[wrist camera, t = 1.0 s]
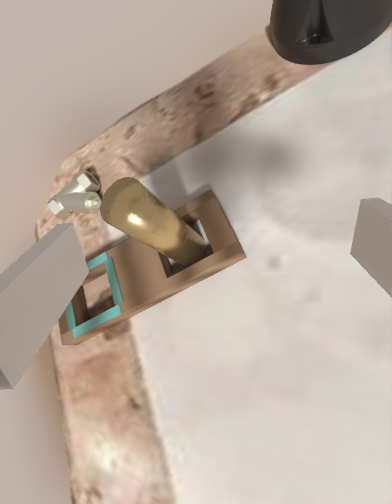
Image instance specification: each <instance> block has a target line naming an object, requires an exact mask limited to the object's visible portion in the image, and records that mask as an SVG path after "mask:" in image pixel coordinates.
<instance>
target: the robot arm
mask: <svg viewBox="0 0 392 504" xmlns="http://www.w3.org/2000/svg"><path fill="white" fill-rule="evenodd" d="M391 22H392V0H273V4H272V11H271V18H270V28H271V34H272V41H273V45H274V47H275V49H276V51H277V52H278V53H279V54H280V55H281V56H282V57H283V58H285V59H287V60H289V61H292V62H295V63H299V64H321V63H327V62H331V61H335V60H338V59H341V58H344V57H347V56H349V55H351V54H353V53H355V52H357V51H359V50H361V49H362V48H364V47H366V46H367V45H368V44H370V43H371V42H373V41H374V40H375V39H376V38H377V37H379V36H380V35H381V34H382V33H383V32H384V31H385V29H386V28H387V27H388V26H389V25H390V23H391ZM350 254H351V255H352V256H353V257H354V258H355V259H356V260H357V261H358V262H359V263H360V264H361V266H362V267H363V268H364V269H365V270H366V271H367V272H368V273H369V274H370V275H371V276H372V277H373V278H374V279H375V280H376V281H377V282H378V284H379V285H380V286H381V287H382V288H383V289H384V290H385V291H386V292H387V293H388V294H389V295H390V296H391V297H392V205H391V204H389V203H387V202H385V201H384V200H382V199H380V198H371V199H361V202H360V207H359V212H358V217H357V222H356V227H355V232H354V237H353V243H352V248H351V253H350ZM88 273H89V270H88V267H87V264H86V261H85V257H84V254H83V251H82V248H81V245H80V242H79V239H78V236H77V233H76V230H75V227H74V224H73V223H69V224H57V225H56V226H55V227H54V228H53V229H52V230H50V231H49V232H48V233H47V234H46V235H45V236H44V237H42V238H41V239H40V240H39V241H38V242H37V243H36V244H34V245H33V246H32V247H31V248H30V249H29V250H28V251H26V252H25V253H24V254H23V255H22V256H21V257H19V258H18V259H17V260H16V261H15V262H14V263H13V264H11V265H10V266H9V267H8V268H7V269H6V270H5V271H4V272H2V273H1V274H0V390H1V389H14V387H15V386H16V384H17V383H18V381H19V379H20V378H21V376H22V375H23V373H24V372H25V370H26V369H27V367H28V366H29V364H30V363H31V361H32V359H33V358H34V357H35V355H36V353H37V351H38V350H39V349H40V347H41V346H42V344H43V343H44V341H45V340H46V338H47V337H48V335H49V333H50V332H51V330H52V329H53V327H54V326H55V324H56V323H57V321H58V320H59V318H60V317H61V315H62V313H63V312H64V310H65V309H66V307H67V306H68V304H69V303H70V301H71V300H72V298H73V297H74V295H75V293H76V292H77V290H78V289H79V287H80V286H81V284H82V283H83V281H84V280H85V278H86V277H87V275H88Z"/></svg>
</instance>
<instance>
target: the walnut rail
mask: <svg viewBox="0 0 392 504" xmlns="http://www.w3.org/2000/svg"><path fill="white" fill-rule="evenodd" d="M174 213H175V214H176V215H178V216H179V217H180V218H181V219H182V220H183V221H184V222H185V223H187V224H188V225H190V224H191V223H193V222H195V221H197V220H198V219H199V220H200V222H201V224H202V227H203V229H204V231H205V233H206V236H207V238H208V240H209V243H210V245H211V247H212V249H213V252H214V254H212V255H210V256H208V257H206V258H205V259H203V260H201V261H199V262H197V263H195V264H193V265H191V266H190V267H188V268H186V269H184V270H182V271H180V272H178V273H177V274H175V275H174V274H173V271H172V268H171V266H170V263H169V260H168V257H167V256H165V255H163V254H162V253H160V252H158V251H156V250H154V249H153V248H151V247H149V246H147V245H146V244H144V243H142V242H140V241H138V240H137V239H135V238H133V237H130V238H129V239H127V240H125V241H124V242H122V243H120V244H118V245H117V246H115V247H113V248H112V249H110V250H108V251H107V252H104V253H102V254H101V255H99V256H97V257H96V258H94V259H92V260H91V261H89V262H87V263H86V264H87V267H88V270H89V273H88V275H87V277H86V278H85V280H84V281H83V283H82V284H81V286H80V287H79V289H78V290H77V292H76V293H75V295H74V297H73V298H72V300H71V301H70V303H69V304H68V306H67V307H66V309H65V310H64V312H63V313H62V315H61V317H60V318H59V327H60V334H61V341H62V345H78V344H80V343H82V342H84V341H86V340H88V339H89V338H91V337H93V336H95V335H97V334H99V333H101V332H103V331H105V330H107V329H109V328H111V327H113V326H115V325H117V324H119V323H120V322H122V321H124V320H126V319H128V318H130V317H132V316H134V315H136V314H138V313H140V312H142V311H144V310H146V309H148V308H150V307H152V306H153V305H155V304H157V303H159V302H161V301H163V300H165V299H167V298H169V297H171V296H173V295H175V294H177V293H179V292H181V291H183V290H184V289H186V288H188V287H190V286H192V285H194V284H196V283H198V282H200V281H202V280H204V279H206V278H208V277H210V276H212V275H214V274H215V273H217V272H219V271H221V270H223V269H225V268H227V267H229V266H231V265H233V264H235V263H237V262H239V261H241V260H243V259H245V258H246V255H245V253H244V251H243V249H242V247H241V245H240V243H239V241H238V239H237V237H236V235H235V233H234V231H233V229H232V227H231V225H230V223H229V221H228V219H227V217H226V215H225V213H224V211H223V209H222V207H221V205H220V203H219V201H218V199H217V197H216V196H215V195H214V193H213V192H212V190H211V189H210V190H209V191H207V192H205V193H204V194H202V195H200V196H199V197H197V198H195V199H194V200H192V201H190V202H189V203H187V204H185V205H184V206H182V207H180V208H179V209H177V210H175V211H174ZM106 272H107V275H108V279H109V283H110V287H111V292H112V296H113V300H114V304H115V306H114V307H112V308H111V309H109V310H107V311H105V312H103V313H101V314H99V315H98V316H96V317H94V318H92V319H90V320H89V316H88V311H87V306H86V301H85V295H84V290H83V286H84V285H85V284H87V283H89V282H91V281H92V280H94V279H96V278H98V277H99V276H101V275H103V274H105V273H106Z"/></svg>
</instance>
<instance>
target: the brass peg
mask: <svg viewBox="0 0 392 504" xmlns="http://www.w3.org/2000/svg"><path fill="white" fill-rule="evenodd" d="M100 212H101V216H102V218H103V219H104V221H105V222H106V223H108V224H110V225H111V226H113V227H115V228H117V229H119V230H120V231H122V232H124V233H126V234H128V235H129V236H131V237H133V238H135V239H137V240H138V241H140V242H142V243H144V244H146V245H147V246H149V247H151V248H153V249H154V250H156V251H158V252H160V253H162V254H163V255H165V256H167V257H169V258H171V259H172V260H174V261H176V262H178V263H180V264H181V265H184V266H191V265H193V264H195V263H197V262H199V261H200V260H201V259H202V258H203V256H204V254H205V250H206V244H205V241H204V239H203V238H202V237H201V236H200V235H199V234H198V233H197V232H196V231H194V230H193V229H192V228H191V227H190V226H189V225H188V224H187V223H185V222H184V221H183V220H182V219H181V218H180V217H179V216H178V215H176V214H175V213H174V212H173V211H172V210H171V209H170V208H168V207H167V206H166V205H165V204H164V203H163V202H162V201H161V200H159V199H158V198H157V197H156V196H155V195H154V194H153V193H152V192H150V191H149V190H148V189H147V188H146V187H145V186H144V185H143V184H141V183H140V182H139V181H138V180H137V179H135V178H131V177H126V178H122V179H119V180H117V181H116V182H114V183H113V184H112V185H111V186H110V187H109V188H108V189H107V190H106V192H105V194H104V196H103V198H102V201H101V205H100Z"/></svg>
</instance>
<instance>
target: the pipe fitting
mask: <svg viewBox="0 0 392 504" xmlns="http://www.w3.org/2000/svg"><path fill="white" fill-rule="evenodd" d="M99 189H100V184H99V182H98V181H97V179H96V178H95V177H94V176H93V175H92V174H91V173H89V172H88V171H86V170H84V169H83V170H82V171H81V172H80V173H79V174H78V175H77V177H76V178H75V179H74V180H73V181H72V182H71V183H70V184H69V185H67V186H66V187H65V188H64V189H63V190H62V191H61V192H60V193H58V194H57V195H54V196H53V197H52V198H51V199H50V200H49V201H48V203H47V206H48V207H49V209H50V210H51V211H52V212H53V213H54V214H55V215H56V216H58V217H60V218H62V219H66V218H67V217H68V216H69V215H71V213H72V212H82V213H96V212H98V210H99V207H100V205H101V200H100V197H99V195H98V194H97V193H96V192H97V191H98V190H99Z"/></svg>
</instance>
